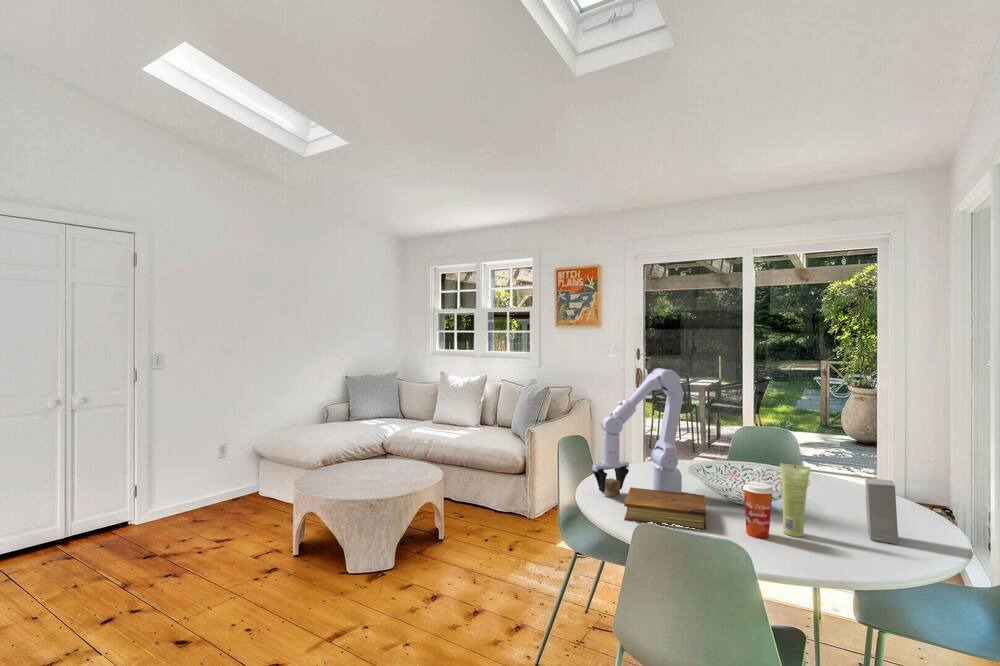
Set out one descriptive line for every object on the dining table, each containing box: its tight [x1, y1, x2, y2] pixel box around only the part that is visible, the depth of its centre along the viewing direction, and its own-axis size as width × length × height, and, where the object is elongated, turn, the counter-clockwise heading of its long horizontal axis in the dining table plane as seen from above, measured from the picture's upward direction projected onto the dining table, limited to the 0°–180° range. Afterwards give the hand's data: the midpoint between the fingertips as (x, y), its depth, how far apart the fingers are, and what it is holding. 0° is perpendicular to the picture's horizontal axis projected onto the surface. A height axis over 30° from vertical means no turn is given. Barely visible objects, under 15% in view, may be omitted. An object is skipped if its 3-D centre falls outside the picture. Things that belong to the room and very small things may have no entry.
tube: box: [779, 462, 811, 538], centre depth 146 cm, size 6×5×20 cm
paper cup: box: [742, 481, 775, 540], centre depth 145 cm, size 8×8×14 cm
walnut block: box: [600, 477, 621, 498], centre depth 180 cm, size 4×4×5 cm
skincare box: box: [864, 477, 899, 546], centre depth 144 cm, size 8×7×16 cm
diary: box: [623, 487, 707, 531], centre depth 160 cm, size 23×19×6 cm
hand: (610, 489), depth 180 cm, fingers open, 7 cm apart
